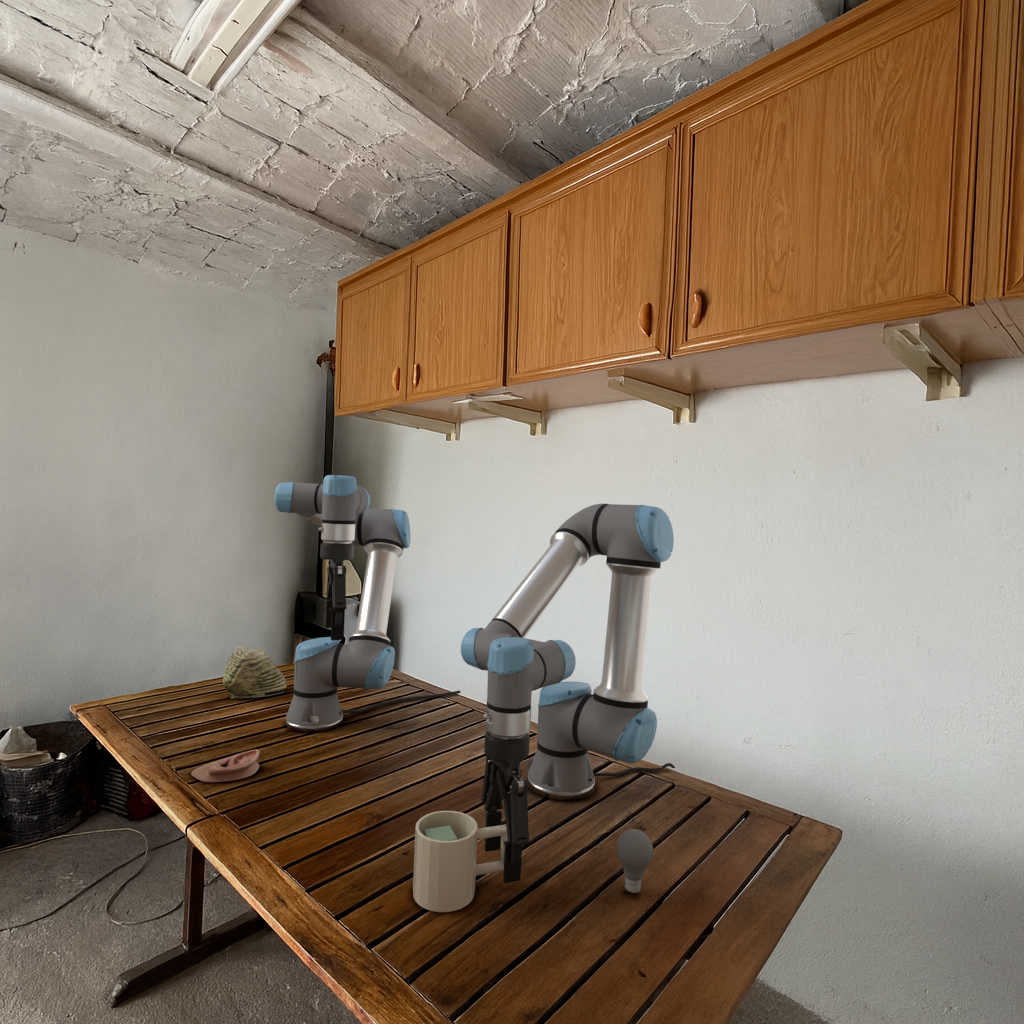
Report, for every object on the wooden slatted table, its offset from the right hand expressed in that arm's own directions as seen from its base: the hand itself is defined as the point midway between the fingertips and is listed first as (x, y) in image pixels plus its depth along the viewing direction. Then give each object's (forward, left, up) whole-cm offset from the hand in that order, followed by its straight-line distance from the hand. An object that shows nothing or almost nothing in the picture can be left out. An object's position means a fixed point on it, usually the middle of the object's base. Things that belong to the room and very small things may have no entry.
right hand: (501, 864), depth 107 cm
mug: (+7, 0, -3) cm, 7 cm away
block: (+11, 0, -2) cm, 11 cm away
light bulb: (-20, +9, -3) cm, 22 cm away
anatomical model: (+45, -57, -3) cm, 73 cm away
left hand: (+23, -52, +29) cm, 64 cm away
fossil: (+40, -114, -3) cm, 121 cm away
